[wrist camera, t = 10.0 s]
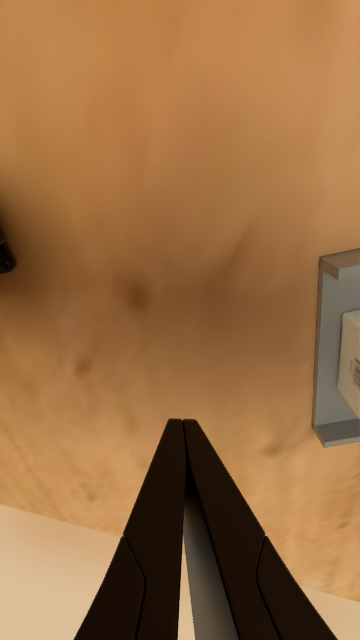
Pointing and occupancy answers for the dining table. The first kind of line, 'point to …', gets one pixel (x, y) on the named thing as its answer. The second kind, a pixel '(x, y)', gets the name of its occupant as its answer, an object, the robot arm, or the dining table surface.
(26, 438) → the dining table surface
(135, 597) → the robot arm
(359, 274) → the tray
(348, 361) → the small box
